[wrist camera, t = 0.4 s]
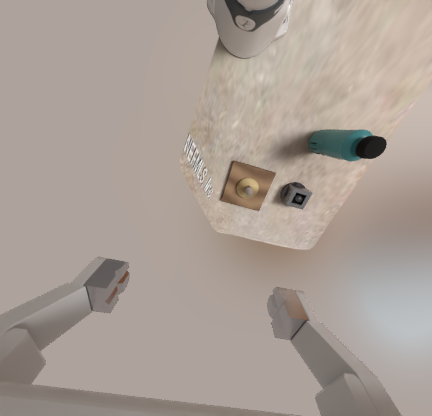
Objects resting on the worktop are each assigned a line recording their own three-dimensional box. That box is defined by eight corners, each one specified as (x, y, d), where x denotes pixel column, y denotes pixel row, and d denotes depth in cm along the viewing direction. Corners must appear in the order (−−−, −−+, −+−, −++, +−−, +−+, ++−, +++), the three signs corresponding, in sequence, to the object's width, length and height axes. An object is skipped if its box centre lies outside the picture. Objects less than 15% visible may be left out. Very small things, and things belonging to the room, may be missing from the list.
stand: (287, 179, 52) (293, 184, 48) (309, 185, 53) (317, 191, 49) (276, 200, 56) (281, 207, 52) (297, 206, 57) (304, 213, 52)
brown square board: (233, 160, 50) (235, 164, 45) (274, 172, 52) (280, 177, 46) (221, 199, 56) (221, 206, 51) (258, 209, 58) (262, 217, 52)
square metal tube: (289, 183, 52) (294, 187, 49) (306, 188, 53) (312, 193, 49) (281, 199, 55) (285, 204, 51) (297, 204, 55) (302, 209, 52)
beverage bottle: (301, 140, 47) (350, 146, 29) (323, 123, 45) (390, 119, 27) (311, 157, 49) (363, 173, 31) (332, 142, 47) (400, 150, 29)
